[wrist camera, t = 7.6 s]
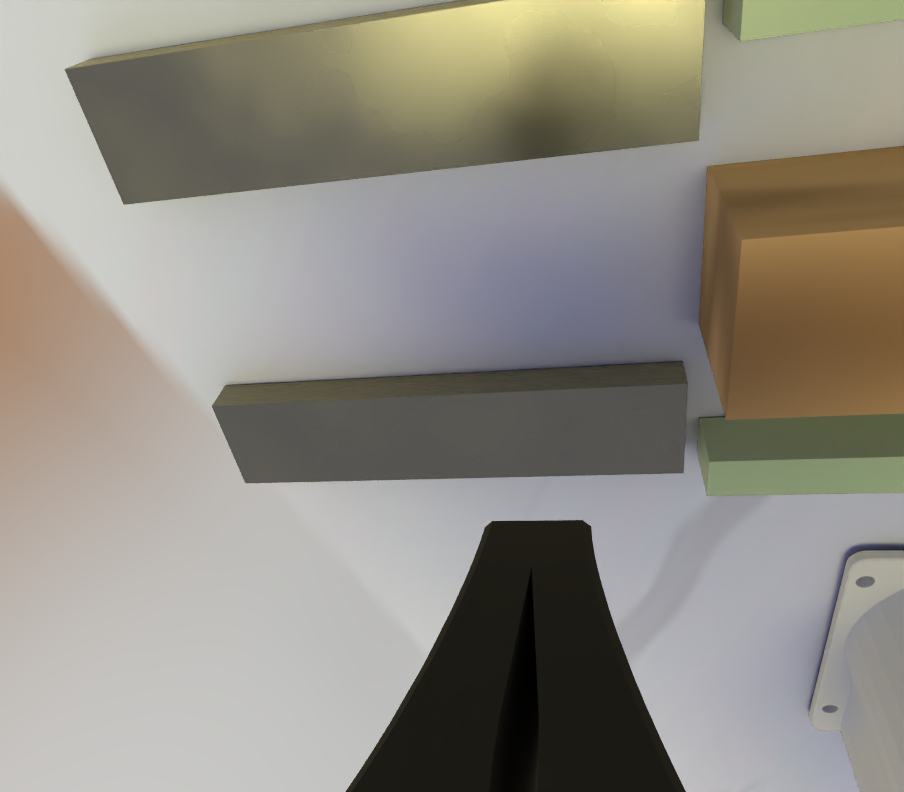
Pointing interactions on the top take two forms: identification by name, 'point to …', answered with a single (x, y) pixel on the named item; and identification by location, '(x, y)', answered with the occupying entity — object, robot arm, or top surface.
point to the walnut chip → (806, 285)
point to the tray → (802, 438)
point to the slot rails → (405, 151)
